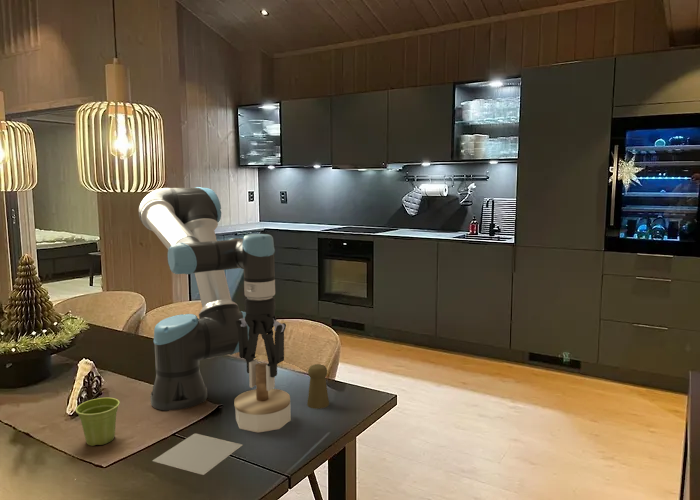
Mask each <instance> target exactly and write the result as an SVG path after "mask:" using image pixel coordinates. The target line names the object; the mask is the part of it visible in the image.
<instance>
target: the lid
mask: <svg viewBox="0 0 700 500" xmlns="http://www.w3.org/2000/svg"><path fill="white" fill-rule="evenodd" d="M267 364H268V363H267V362H258V364H256V365H255V366H256V386H255V388H254V389H250V390H247V391H244V392H242V393H240V394H238V395H237V396H236V397H235V398H234V400H233V401H234V404H233V405H234V409H235V408H236V409H237V410H238V411H240V412H242V413H246V414H253V415H263V414H270V413H275V412H278V411H281V410H283V409H285V408H286V407H287V406H288V405H289V404H290V405H291V396H290V394H289V393H288V392H287V391H286V390H282V389H278V388H273V389H271V390H270V391H267V388H266V365H267Z"/></svg>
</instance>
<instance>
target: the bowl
mask: <svg viewBox="0 0 700 500" xmlns="http://www.w3.org/2000/svg"><path fill="white" fill-rule="evenodd" d="M234 409H235V421H236V423H237V426H238V429H239V430H243V431H249V432H254V433H263V432H269V431H274V430H280V429H282V428H283V427H284V426H285V425H286V424H287V423H289V422H291V417H292V416H291V413H292V412H291V403H290V404H289V405H288V406H287V407H286V408H285V409H283V410H281V411H278V412H275V413H270V414H263V415H253V414H246V413H242V412H240V411H238V410H237V409H236V408H235V407H234Z"/></svg>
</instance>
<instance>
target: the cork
mask: <svg viewBox="0 0 700 500" xmlns="http://www.w3.org/2000/svg"><path fill="white" fill-rule="evenodd" d="M307 371H308V376H309V386H308V387H309V388H308V395H307V404H306V406H307V407H309V408H310V409H314V410H319V409H320V410H321V409H325V408H327V407H329V405H330V400H329V394H328V388H327V387H328V386H327V380H326V379H327V375H328V368H327V366H326V365H324V364H320V363H317V364H311V365H310V366H309V367H308V370H307Z"/></svg>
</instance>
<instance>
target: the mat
mask: <svg viewBox="0 0 700 500" xmlns="http://www.w3.org/2000/svg"><path fill="white" fill-rule="evenodd" d="M242 446H243V444H241V443H237V442H233V441H228V440H225V439H221V438H216V437H212V436H207V435H204V434H200V433H197V432H196V433H193V434H191V435H190V436H188V437H187V438H185V439H183V440H182V441H181V442H178V443H177V444H176V445H174V446H173V447H172V448H169V449H168V450H166V451H165V452H163V453H162V454H160V455H159V456H157V457H155V458H154V459H153V460H152V462H153V463H158V464H161V465H165V466H168V467H172V468H175V469H176V468H177V469H180V470H184V471H186V472H187V471H188V472H191V473H194V474H197V475H202V476H204V475H206V474H207V473H208V472H210V471H211V470H212V469H214V468H215V467H217V465H219V464H220V463H221V462H223V461H224V460H226V459H227V458H228V457H230V455H232V454H233V453H235V451H237V450H238V449H239V448H241V447H242Z"/></svg>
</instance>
